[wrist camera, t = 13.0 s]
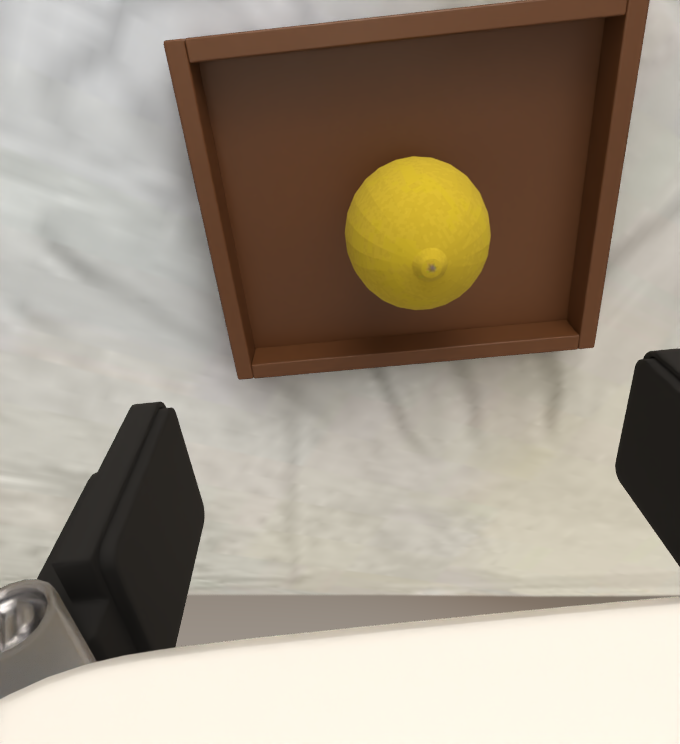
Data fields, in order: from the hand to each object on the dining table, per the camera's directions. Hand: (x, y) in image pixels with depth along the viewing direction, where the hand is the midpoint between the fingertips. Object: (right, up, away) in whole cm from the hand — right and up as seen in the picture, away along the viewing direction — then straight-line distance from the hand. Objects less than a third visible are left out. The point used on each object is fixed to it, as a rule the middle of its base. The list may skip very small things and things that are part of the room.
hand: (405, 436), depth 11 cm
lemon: (+2, +9, +14) cm, 17 cm away
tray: (+2, +9, +14) cm, 17 cm away
